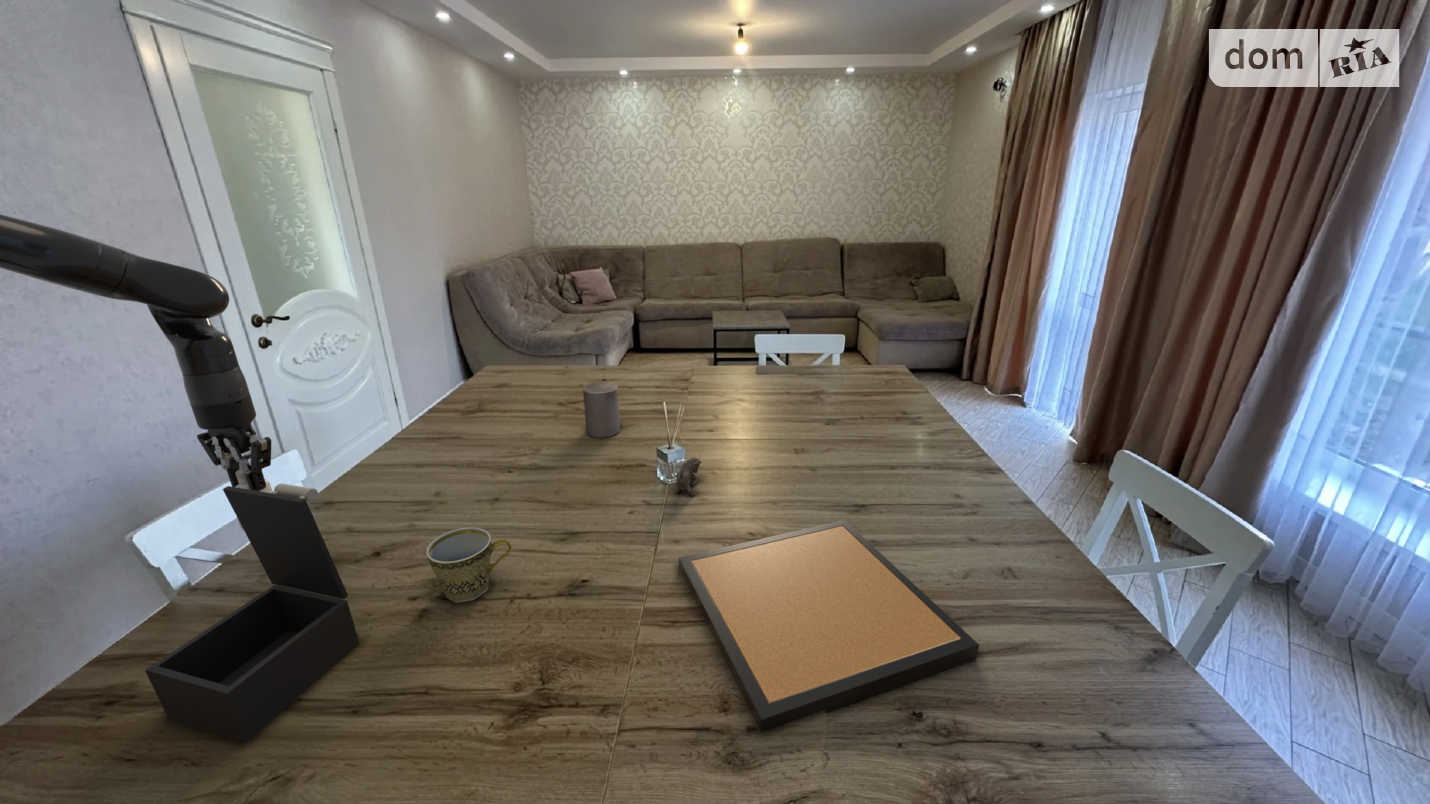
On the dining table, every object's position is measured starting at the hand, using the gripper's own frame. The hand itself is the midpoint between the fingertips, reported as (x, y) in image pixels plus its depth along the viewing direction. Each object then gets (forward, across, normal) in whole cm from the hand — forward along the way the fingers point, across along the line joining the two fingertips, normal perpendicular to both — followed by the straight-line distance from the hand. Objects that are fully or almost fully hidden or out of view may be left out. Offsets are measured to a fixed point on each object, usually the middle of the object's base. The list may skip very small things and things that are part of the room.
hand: (250, 488), depth 96 cm
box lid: (-1, +24, -13) cm, 27 cm away
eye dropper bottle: (+7, 0, 0) cm, 7 cm away
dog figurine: (+16, +65, +48) cm, 83 cm away
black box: (+17, +24, -20) cm, 36 cm away
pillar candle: (+16, +31, +73) cm, 81 cm away
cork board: (+17, +97, +14) cm, 100 cm away
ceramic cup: (+17, +40, +4) cm, 44 cm away
